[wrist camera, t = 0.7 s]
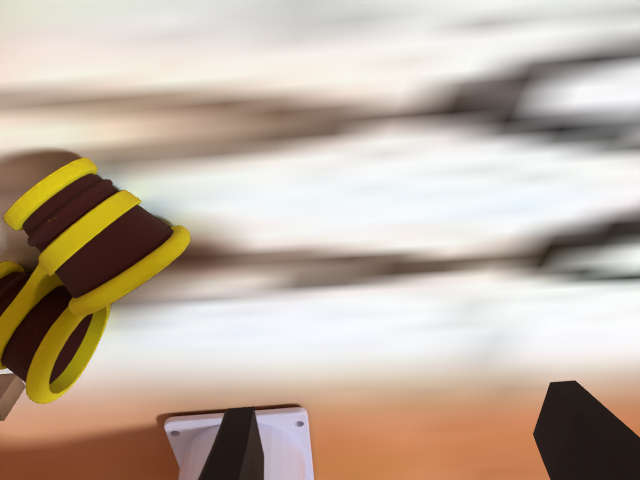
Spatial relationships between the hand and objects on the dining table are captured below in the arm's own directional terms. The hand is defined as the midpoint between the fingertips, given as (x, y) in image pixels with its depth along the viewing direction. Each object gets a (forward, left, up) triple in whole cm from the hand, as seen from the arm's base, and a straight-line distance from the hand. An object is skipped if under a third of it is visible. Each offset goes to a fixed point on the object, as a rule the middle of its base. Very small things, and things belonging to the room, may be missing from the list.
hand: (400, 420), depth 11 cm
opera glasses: (0, +12, -10) cm, 15 cm away
